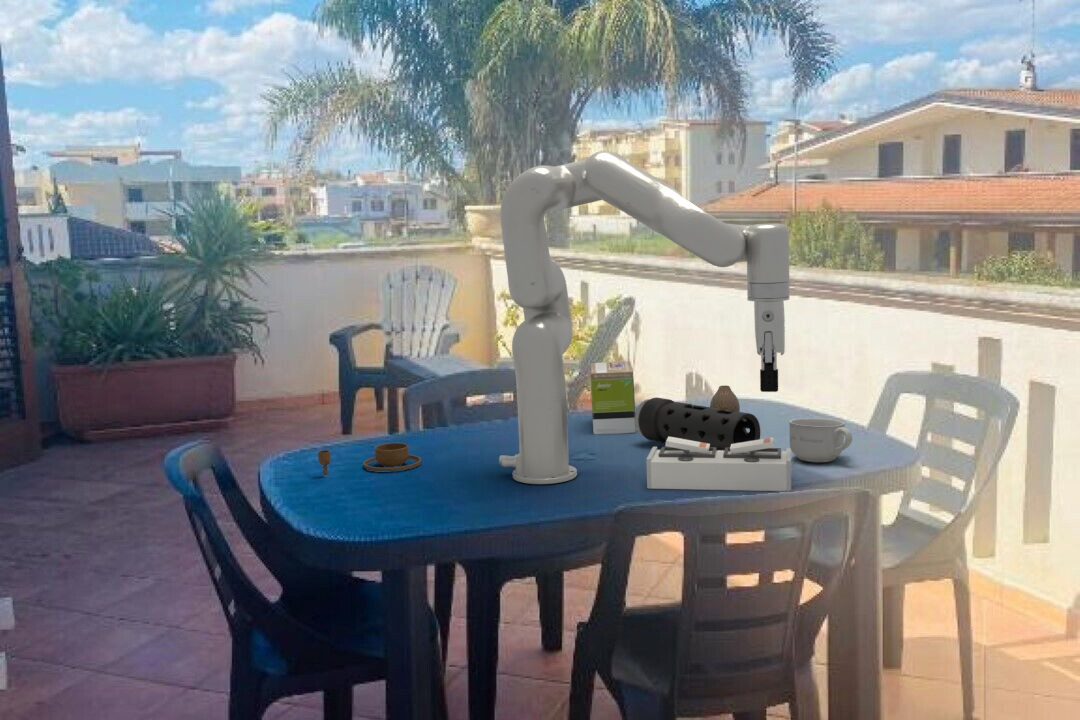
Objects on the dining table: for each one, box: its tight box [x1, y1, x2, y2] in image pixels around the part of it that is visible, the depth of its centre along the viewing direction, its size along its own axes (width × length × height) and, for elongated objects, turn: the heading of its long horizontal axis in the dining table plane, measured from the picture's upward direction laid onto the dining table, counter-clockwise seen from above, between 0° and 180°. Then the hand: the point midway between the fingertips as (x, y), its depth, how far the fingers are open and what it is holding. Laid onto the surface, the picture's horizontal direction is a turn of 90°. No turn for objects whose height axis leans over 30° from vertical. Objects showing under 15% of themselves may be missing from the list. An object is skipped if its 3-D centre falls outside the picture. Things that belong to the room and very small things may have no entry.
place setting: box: [317, 442, 422, 476], centre depth 225 cm, size 18×20×6 cm
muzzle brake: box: [634, 397, 761, 451], centre depth 227 cm, size 10×28×10 cm, turn 39°
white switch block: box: [645, 446, 792, 492], centre depth 201 cm, size 26×10×6 cm, turn 77°
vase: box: [709, 385, 741, 412], centre depth 254 cm, size 7×7×9 cm
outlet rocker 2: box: [730, 437, 775, 454], centre depth 201 cm, size 8×4×2 cm, turn 77°
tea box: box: [590, 360, 637, 435], centre depth 254 cm, size 15×10×15 cm
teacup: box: [788, 417, 853, 463], centre depth 214 cm, size 14×11×8 cm
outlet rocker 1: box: [664, 436, 710, 454], centre depth 204 cm, size 8×4×2 cm, turn 77°
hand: (769, 390), depth 199 cm, fingers closed
